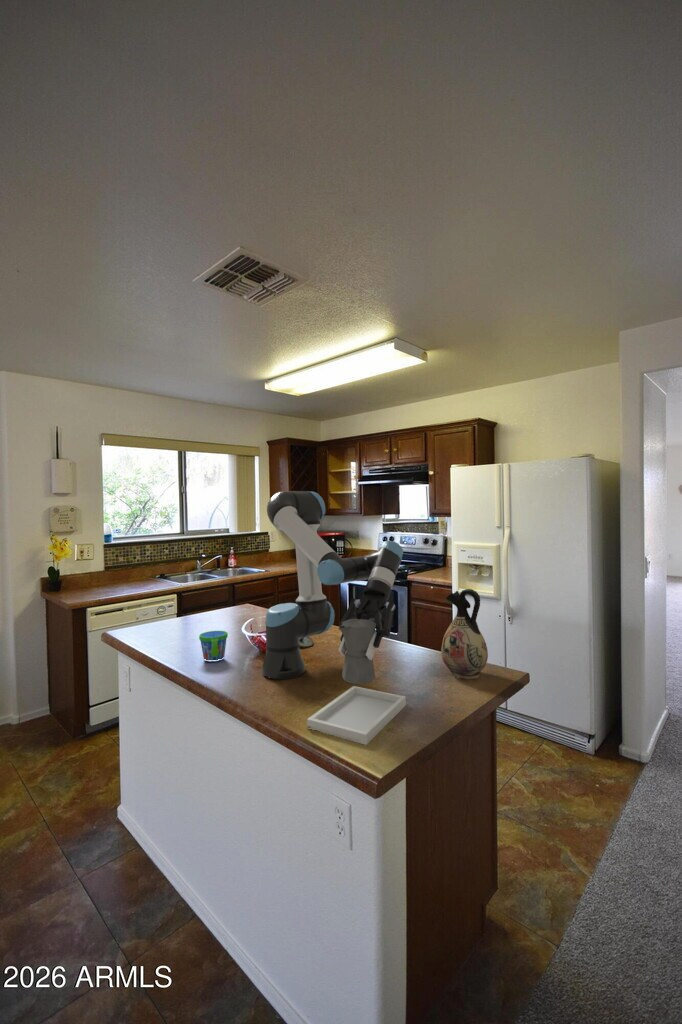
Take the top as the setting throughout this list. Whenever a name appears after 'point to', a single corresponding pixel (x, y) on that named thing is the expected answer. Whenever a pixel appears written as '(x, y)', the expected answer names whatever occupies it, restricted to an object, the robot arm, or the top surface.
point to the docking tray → (357, 714)
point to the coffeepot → (358, 649)
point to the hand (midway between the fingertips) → (354, 655)
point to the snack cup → (213, 644)
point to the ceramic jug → (464, 639)
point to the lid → (305, 642)
